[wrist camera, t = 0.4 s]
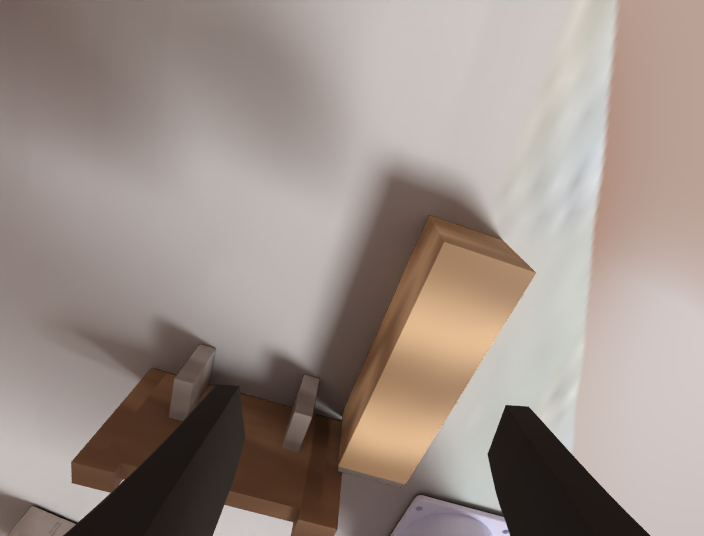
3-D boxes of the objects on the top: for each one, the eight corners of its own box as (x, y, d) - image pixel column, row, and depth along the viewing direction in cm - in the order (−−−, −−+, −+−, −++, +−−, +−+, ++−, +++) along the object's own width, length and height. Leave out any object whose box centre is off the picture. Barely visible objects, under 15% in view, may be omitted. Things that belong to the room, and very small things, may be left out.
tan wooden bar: (397, 431, 24) (402, 489, 20) (340, 415, 23) (335, 472, 20) (502, 239, 18) (536, 272, 14) (428, 214, 17) (444, 241, 14)
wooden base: (338, 438, 24) (327, 546, 18) (149, 386, 23) (71, 483, 17) (360, 390, 22) (356, 493, 16) (155, 331, 21) (70, 417, 15)
